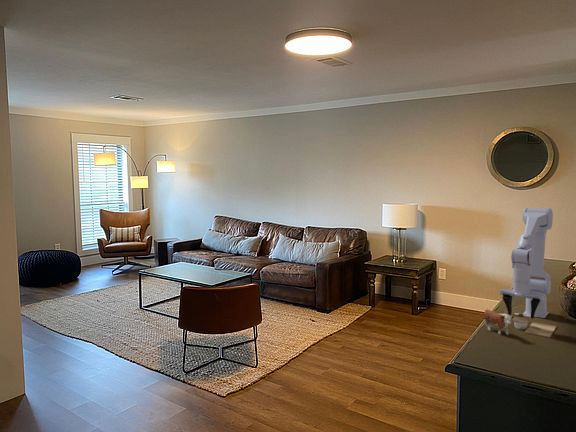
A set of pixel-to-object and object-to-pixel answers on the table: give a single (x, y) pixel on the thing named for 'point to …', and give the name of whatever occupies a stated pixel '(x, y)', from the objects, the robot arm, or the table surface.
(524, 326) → the white round lump
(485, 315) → the bull figurine
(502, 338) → the table surface
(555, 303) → the table surface
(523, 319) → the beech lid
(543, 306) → the robot arm
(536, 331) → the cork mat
